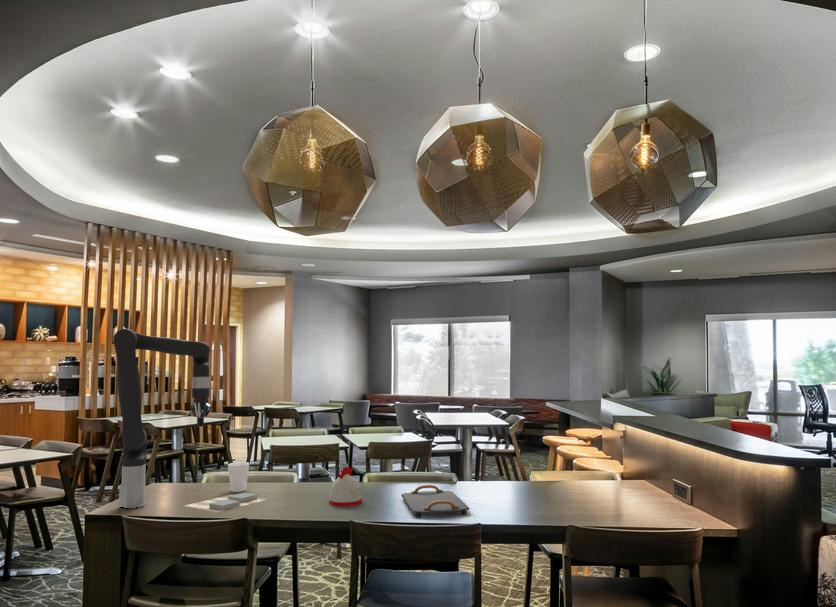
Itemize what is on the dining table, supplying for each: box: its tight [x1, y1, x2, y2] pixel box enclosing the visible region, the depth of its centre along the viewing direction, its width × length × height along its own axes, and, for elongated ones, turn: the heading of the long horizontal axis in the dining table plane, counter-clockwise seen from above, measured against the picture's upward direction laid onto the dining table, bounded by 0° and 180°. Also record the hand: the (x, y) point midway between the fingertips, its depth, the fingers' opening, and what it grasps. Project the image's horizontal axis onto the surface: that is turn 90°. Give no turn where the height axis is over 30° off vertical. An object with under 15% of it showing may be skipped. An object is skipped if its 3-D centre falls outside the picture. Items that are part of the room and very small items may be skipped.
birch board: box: [184, 493, 269, 513], centre depth 271 cm, size 27×22×1 cm
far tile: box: [227, 492, 258, 503], centre depth 275 cm, size 9×2×8 cm
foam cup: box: [227, 461, 250, 493], centre depth 297 cm, size 10×9×13 cm
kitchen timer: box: [328, 466, 363, 507], centre depth 273 cm, size 14×14×15 cm
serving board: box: [401, 484, 470, 518], centre depth 262 cm, size 39×23×6 cm, turn 9°
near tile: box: [209, 499, 240, 511], centre depth 262 cm, size 9×2×8 cm
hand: (200, 426), depth 283 cm, fingers closed
